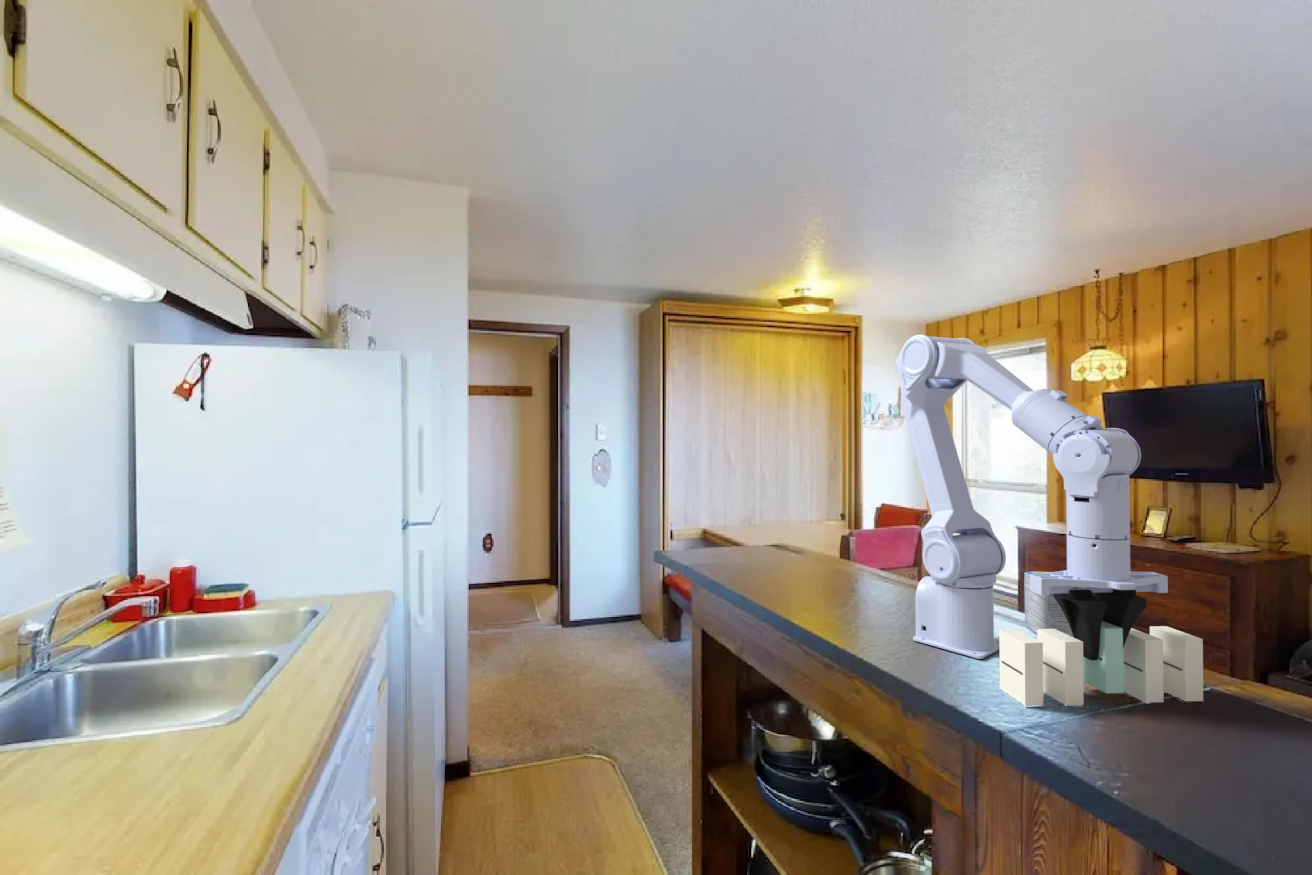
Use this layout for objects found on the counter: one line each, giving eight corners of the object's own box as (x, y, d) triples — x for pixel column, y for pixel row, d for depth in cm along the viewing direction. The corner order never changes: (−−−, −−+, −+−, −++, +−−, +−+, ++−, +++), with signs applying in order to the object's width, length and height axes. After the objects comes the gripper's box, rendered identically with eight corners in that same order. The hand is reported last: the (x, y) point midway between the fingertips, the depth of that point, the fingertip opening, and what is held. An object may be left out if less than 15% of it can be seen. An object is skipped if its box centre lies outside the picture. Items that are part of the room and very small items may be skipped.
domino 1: (1017, 689, 68) (1016, 629, 68) (1043, 707, 63) (1043, 642, 63) (999, 690, 68) (999, 629, 68) (1025, 707, 63) (1024, 643, 63)
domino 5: (1166, 685, 69) (1166, 626, 69) (1203, 702, 64) (1203, 639, 64) (1149, 686, 68) (1149, 626, 68) (1185, 703, 64) (1184, 639, 64)
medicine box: (1082, 646, 81) (1082, 584, 81) (1047, 644, 82) (1046, 583, 82) (1056, 628, 89) (1055, 571, 89) (1023, 626, 90) (1023, 570, 90)
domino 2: (1054, 688, 68) (1054, 628, 68) (1083, 706, 64) (1083, 641, 64) (1037, 689, 68) (1037, 628, 68) (1065, 706, 64) (1064, 642, 64)
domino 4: (1129, 686, 68) (1129, 626, 68) (1163, 703, 64) (1163, 639, 64) (1112, 687, 68) (1112, 627, 68) (1145, 704, 64) (1145, 640, 64)
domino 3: (1092, 677, 68) (1091, 616, 68) (1124, 692, 64) (1122, 628, 64) (1075, 677, 68) (1074, 616, 68) (1106, 693, 64) (1104, 628, 64)
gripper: (1060, 543, 62) (1062, 672, 62) (1193, 541, 62) (1195, 668, 62) (1016, 532, 69) (1018, 648, 69) (1136, 530, 69) (1137, 645, 69)
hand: (1098, 656), depth 66 cm, fingers closed on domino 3, 2 cm apart
